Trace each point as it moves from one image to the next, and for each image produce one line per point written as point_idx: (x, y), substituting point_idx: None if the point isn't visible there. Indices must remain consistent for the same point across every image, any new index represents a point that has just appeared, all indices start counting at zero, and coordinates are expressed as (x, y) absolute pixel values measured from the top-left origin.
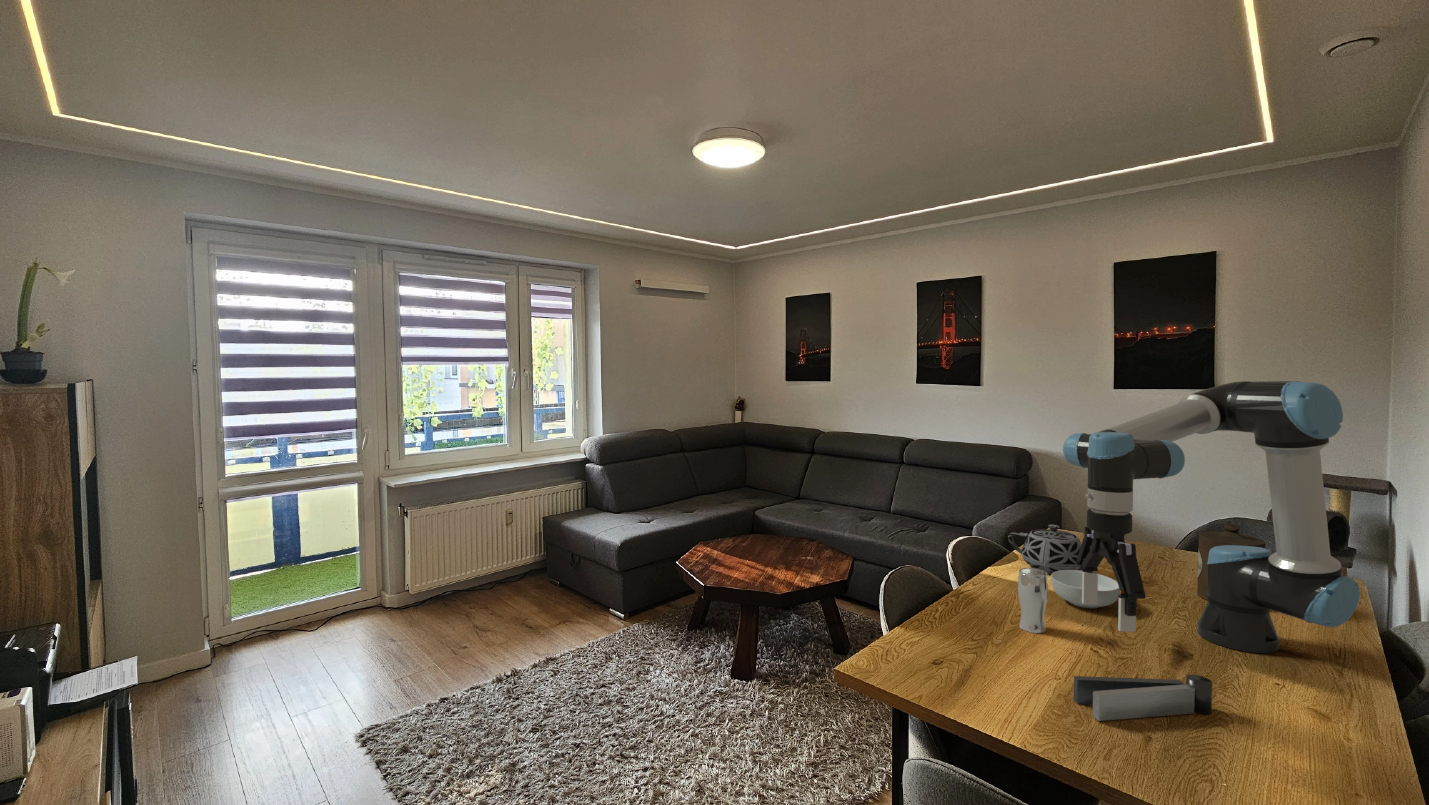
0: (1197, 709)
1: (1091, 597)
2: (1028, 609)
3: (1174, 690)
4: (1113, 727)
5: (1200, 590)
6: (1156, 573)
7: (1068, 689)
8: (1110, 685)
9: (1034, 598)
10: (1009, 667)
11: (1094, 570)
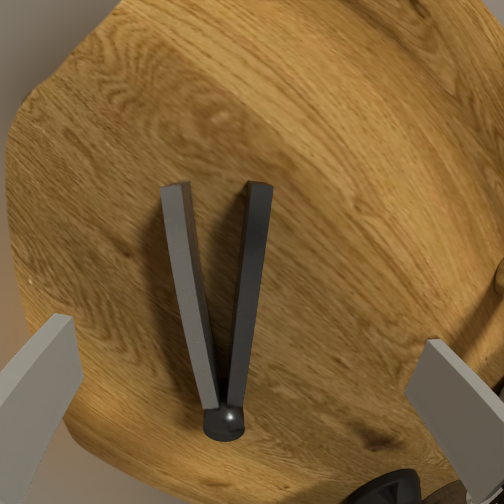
0: None
1: (429, 391)
2: None
3: (194, 374)
4: (156, 204)
5: (458, 485)
6: None
7: (311, 199)
8: (241, 265)
9: None
10: (407, 127)
11: (500, 500)
